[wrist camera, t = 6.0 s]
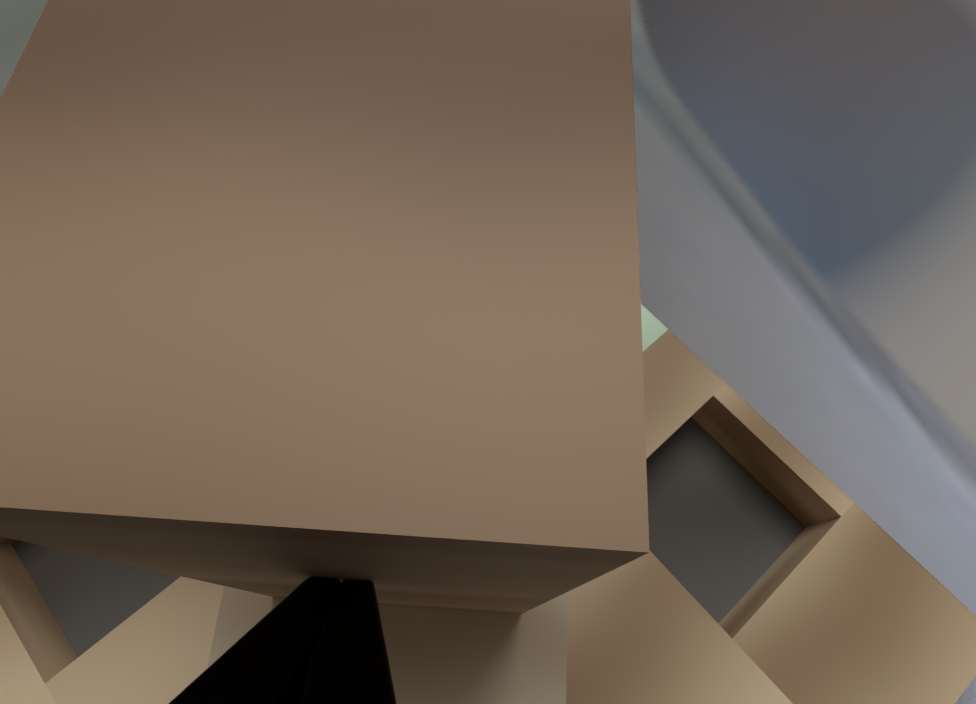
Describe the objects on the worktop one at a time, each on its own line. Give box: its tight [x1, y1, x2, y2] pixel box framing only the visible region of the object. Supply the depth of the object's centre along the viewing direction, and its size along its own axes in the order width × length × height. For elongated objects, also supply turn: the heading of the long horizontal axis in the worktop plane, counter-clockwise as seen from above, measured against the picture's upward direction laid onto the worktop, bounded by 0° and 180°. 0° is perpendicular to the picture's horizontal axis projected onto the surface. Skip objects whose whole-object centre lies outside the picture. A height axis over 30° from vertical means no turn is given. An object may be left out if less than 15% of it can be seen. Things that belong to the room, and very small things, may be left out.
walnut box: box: [0, 0, 650, 614], centre depth 11 cm, size 6×6×11 cm
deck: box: [0, 305, 976, 704], centre depth 15 cm, size 18×18×2 cm
